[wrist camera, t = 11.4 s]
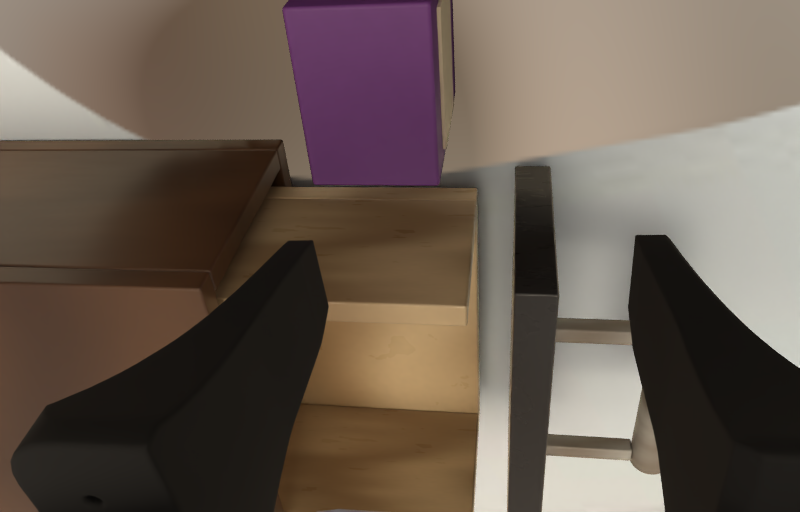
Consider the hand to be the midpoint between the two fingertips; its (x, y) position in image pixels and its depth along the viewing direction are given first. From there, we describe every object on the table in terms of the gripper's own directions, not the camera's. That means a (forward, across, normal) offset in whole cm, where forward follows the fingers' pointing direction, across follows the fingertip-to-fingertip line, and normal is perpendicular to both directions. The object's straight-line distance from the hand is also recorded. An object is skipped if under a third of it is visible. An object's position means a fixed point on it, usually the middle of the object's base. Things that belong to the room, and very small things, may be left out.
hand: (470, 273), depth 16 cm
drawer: (+9, +2, +9) cm, 13 cm away
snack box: (+10, +3, -2) cm, 11 cm away
